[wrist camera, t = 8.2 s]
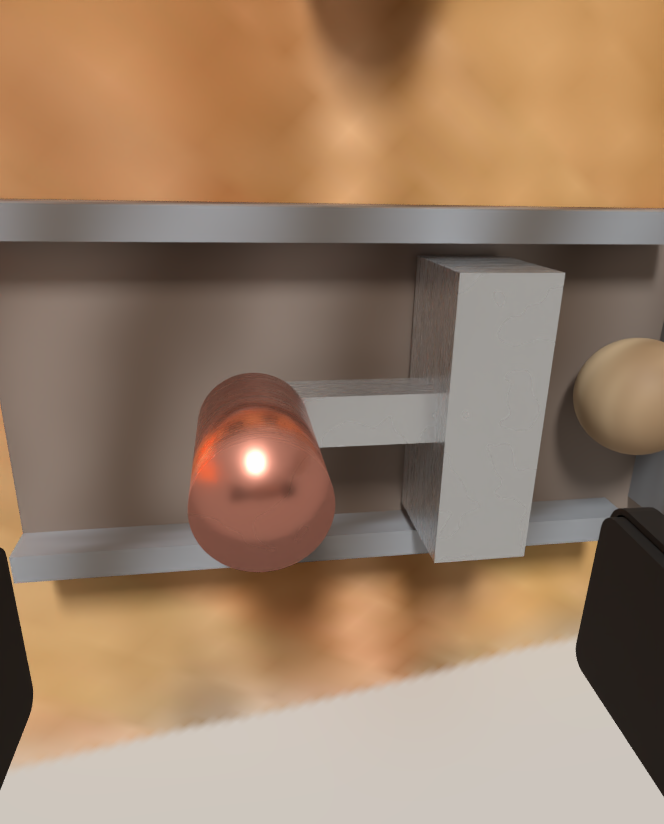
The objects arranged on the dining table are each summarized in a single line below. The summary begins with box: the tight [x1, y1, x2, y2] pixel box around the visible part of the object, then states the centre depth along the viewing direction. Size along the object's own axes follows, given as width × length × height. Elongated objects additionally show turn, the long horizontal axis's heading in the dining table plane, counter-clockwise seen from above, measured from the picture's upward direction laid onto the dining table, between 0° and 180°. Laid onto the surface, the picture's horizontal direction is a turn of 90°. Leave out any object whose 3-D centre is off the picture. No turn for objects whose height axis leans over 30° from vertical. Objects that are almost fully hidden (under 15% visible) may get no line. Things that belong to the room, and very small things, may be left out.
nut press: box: [0, 199, 664, 583], centre depth 20 cm, size 25×12×8 cm, turn 89°
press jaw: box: [188, 256, 565, 572], centre depth 18 cm, size 10×9×8 cm
